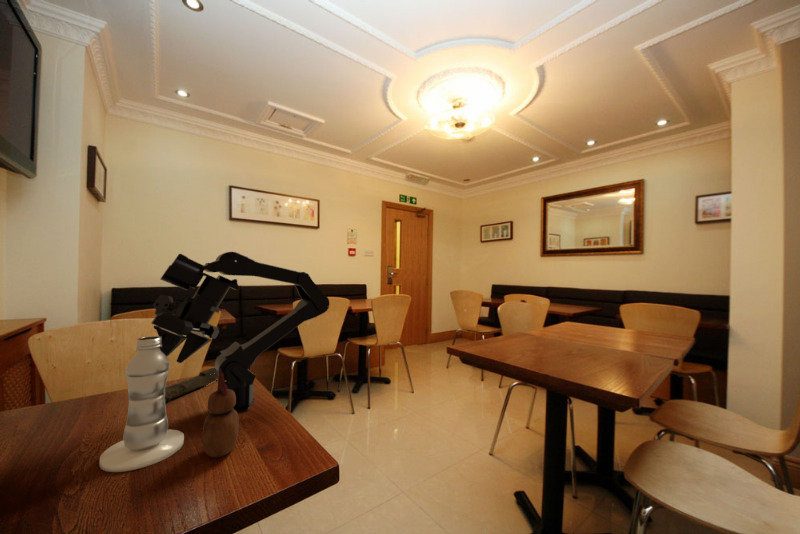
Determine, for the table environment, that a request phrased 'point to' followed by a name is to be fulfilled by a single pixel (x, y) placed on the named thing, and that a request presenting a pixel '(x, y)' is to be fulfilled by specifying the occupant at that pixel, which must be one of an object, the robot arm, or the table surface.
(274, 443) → the table surface
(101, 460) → the saucer
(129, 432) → the plastic bottle
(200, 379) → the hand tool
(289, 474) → the table surface
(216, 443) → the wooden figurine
